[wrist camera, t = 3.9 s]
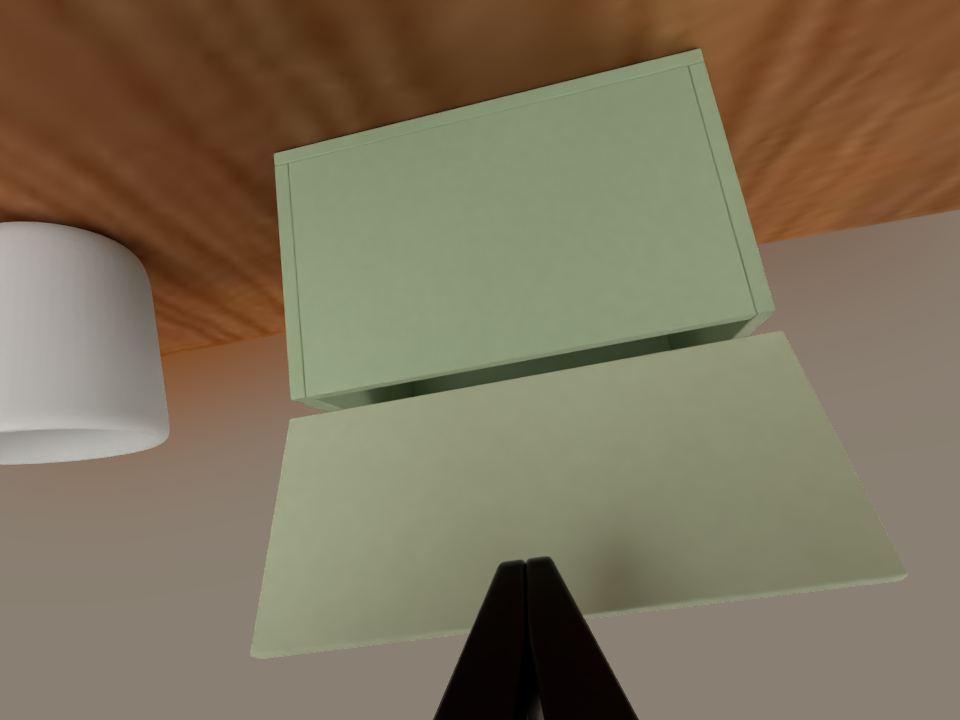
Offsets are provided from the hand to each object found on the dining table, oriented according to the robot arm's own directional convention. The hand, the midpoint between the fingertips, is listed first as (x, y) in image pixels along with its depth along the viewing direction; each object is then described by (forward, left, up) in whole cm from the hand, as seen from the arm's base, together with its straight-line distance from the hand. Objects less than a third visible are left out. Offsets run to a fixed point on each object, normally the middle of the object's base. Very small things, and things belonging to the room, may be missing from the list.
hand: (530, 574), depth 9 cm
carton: (+9, -9, -13) cm, 19 cm away
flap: (+3, -4, -1) cm, 5 cm away
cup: (-8, -19, -14) cm, 25 cm away
